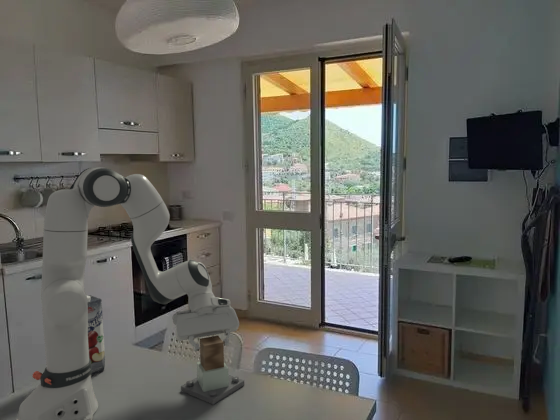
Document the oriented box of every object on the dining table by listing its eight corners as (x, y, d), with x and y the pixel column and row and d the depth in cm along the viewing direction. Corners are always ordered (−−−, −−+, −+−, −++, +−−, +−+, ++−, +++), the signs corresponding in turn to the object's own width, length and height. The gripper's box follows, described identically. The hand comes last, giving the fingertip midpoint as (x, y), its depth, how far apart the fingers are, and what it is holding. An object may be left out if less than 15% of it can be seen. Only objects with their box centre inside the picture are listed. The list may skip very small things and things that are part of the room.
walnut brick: (205, 370, 134) (204, 345, 133) (200, 363, 140) (199, 338, 139) (224, 367, 137) (223, 342, 136) (218, 359, 142) (218, 335, 141)
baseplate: (213, 404, 129) (212, 380, 128) (180, 390, 137) (180, 367, 137) (244, 384, 140) (243, 362, 140) (212, 373, 149) (212, 351, 148)
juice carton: (66, 374, 149) (60, 297, 147) (95, 363, 157) (91, 289, 155) (78, 382, 144) (73, 302, 141) (108, 370, 152) (104, 294, 149)
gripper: (172, 307, 138) (179, 349, 131) (234, 299, 147) (244, 337, 139) (170, 317, 143) (177, 358, 135) (230, 308, 151) (240, 346, 143)
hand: (212, 347), depth 137 cm, fingers open, 8 cm apart
